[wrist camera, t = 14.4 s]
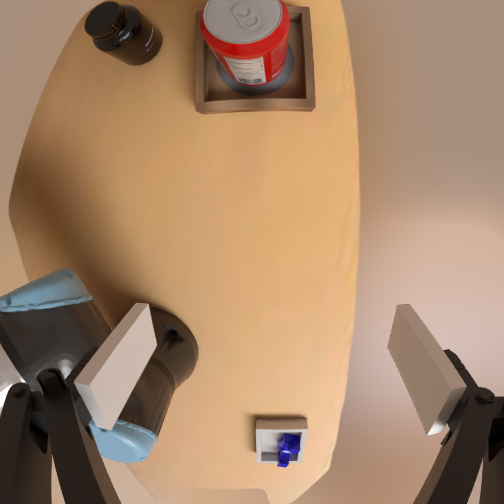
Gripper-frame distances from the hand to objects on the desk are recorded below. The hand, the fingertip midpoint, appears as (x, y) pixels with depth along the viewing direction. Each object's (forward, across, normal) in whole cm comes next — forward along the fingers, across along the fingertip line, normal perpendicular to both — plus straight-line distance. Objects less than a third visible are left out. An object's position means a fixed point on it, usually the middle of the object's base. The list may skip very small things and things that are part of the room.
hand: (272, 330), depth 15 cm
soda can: (+26, -2, +21) cm, 33 cm away
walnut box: (+27, -2, +21) cm, 34 cm away
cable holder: (+26, +3, -49) cm, 55 cm away
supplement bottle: (+27, -18, +26) cm, 42 cm away
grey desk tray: (+27, +2, -47) cm, 54 cm away
